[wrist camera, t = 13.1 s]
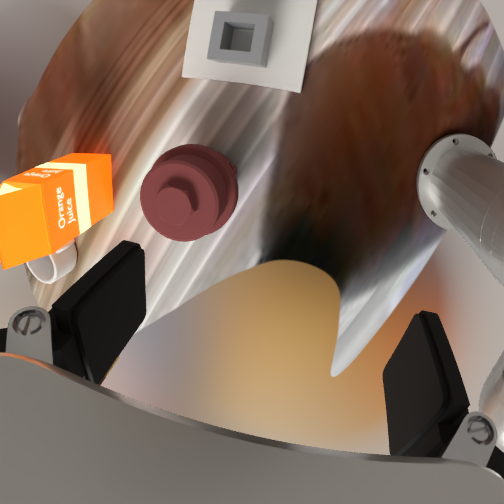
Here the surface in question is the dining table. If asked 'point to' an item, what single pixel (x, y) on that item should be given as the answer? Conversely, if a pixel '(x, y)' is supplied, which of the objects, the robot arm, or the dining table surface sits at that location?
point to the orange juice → (52, 205)
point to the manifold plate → (250, 42)
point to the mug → (54, 263)
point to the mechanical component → (189, 192)
